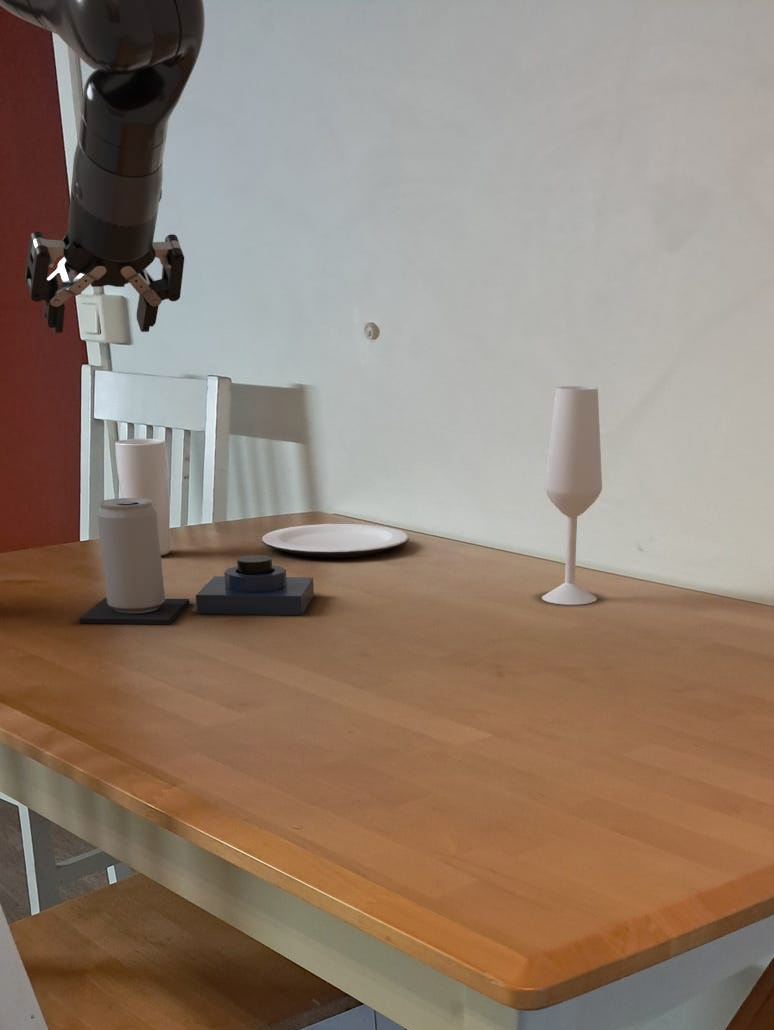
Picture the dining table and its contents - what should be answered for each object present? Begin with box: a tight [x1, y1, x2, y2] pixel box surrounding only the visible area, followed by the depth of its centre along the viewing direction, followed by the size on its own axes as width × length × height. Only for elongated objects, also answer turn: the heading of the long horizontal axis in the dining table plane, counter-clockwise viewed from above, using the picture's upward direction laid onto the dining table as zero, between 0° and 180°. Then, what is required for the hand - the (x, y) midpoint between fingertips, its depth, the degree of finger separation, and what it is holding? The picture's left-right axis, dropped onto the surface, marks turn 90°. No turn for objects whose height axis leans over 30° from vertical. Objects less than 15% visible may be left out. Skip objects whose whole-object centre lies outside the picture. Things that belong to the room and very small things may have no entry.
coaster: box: [78, 597, 190, 625], centre depth 146 cm, size 10×10×1 cm
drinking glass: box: [114, 438, 171, 557], centre depth 174 cm, size 7×7×15 cm
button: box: [236, 555, 273, 575], centre depth 148 cm, size 4×4×2 cm
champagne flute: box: [541, 385, 603, 606], centre depth 149 cm, size 7×7×24 cm
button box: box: [195, 564, 315, 616], centre depth 149 cm, size 12×10×4 cm
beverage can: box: [96, 497, 166, 613], centre depth 143 cm, size 6×6×12 cm
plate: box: [261, 523, 410, 559], centre depth 181 cm, size 21×21×2 cm
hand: (99, 326), depth 127 cm, fingers open, 8 cm apart
